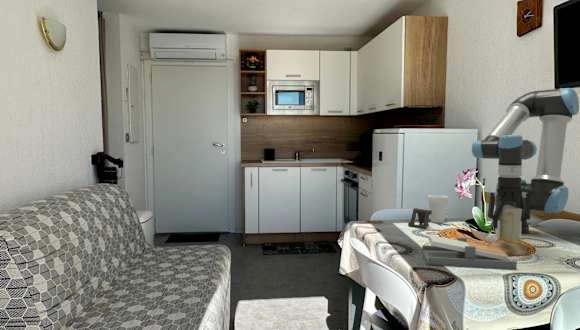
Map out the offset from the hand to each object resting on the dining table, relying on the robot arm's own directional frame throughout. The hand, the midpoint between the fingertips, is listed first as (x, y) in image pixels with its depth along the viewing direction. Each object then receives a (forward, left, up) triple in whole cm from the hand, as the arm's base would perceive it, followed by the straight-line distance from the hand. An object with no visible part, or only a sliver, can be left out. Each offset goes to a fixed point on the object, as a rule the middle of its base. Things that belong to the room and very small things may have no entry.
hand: (507, 237), depth 139 cm
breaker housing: (+18, +14, -5) cm, 23 cm away
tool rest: (0, 0, -5) cm, 5 cm away
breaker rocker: (+18, +14, -1) cm, 23 cm away
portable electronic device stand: (+27, -35, -5) cm, 45 cm away
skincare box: (0, 0, -1) cm, 1 cm away
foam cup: (+17, -48, -5) cm, 51 cm away
